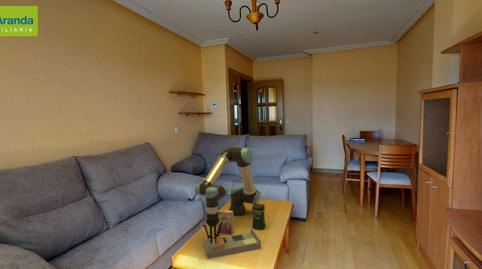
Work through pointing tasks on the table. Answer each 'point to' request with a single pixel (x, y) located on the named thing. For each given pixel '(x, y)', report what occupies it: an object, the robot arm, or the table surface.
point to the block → (219, 244)
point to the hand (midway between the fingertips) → (213, 247)
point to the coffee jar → (258, 216)
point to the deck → (234, 244)
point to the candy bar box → (226, 221)
